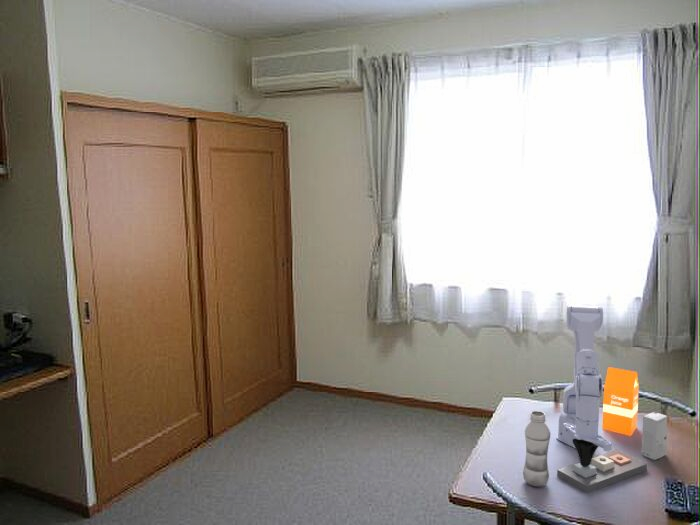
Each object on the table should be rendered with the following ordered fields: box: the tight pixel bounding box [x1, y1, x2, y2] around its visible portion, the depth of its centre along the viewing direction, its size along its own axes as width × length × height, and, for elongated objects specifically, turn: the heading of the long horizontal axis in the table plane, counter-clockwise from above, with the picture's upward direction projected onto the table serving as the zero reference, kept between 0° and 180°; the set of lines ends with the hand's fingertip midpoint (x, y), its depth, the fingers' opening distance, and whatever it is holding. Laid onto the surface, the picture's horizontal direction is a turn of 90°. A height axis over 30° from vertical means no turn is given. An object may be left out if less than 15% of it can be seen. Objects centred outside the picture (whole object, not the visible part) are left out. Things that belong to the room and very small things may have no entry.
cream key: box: [592, 454, 614, 471], centre depth 161 cm, size 4×4×2 cm
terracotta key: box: [609, 454, 630, 466], centre depth 164 cm, size 4×4×2 cm
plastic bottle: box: [522, 410, 551, 488], centre depth 155 cm, size 6×7×20 cm
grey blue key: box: [573, 462, 596, 478], centre depth 158 cm, size 4×4×2 cm
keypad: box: [556, 448, 648, 494], centre depth 161 cm, size 10×24×2 cm, turn 117°
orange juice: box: [601, 366, 640, 437], centre depth 188 cm, size 8×9×20 cm
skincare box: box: [641, 411, 668, 461], centre depth 170 cm, size 6×4×12 cm
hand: (585, 465), depth 157 cm, fingers closed
